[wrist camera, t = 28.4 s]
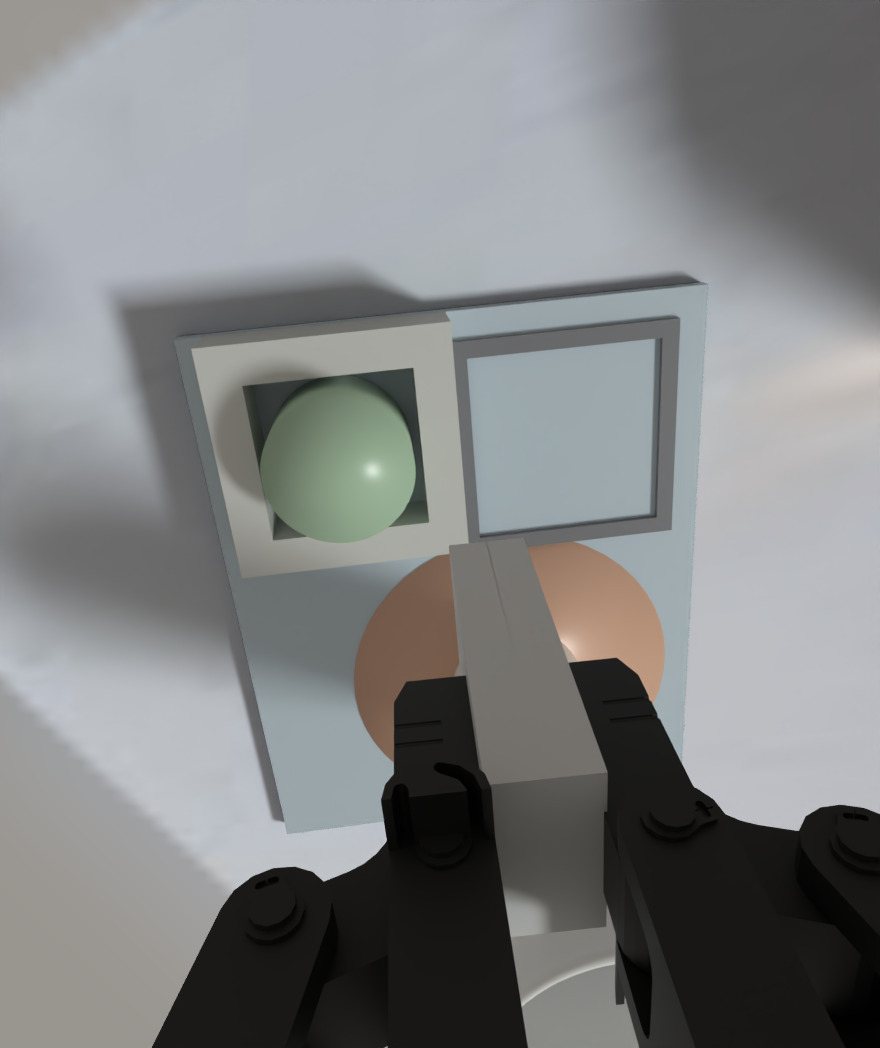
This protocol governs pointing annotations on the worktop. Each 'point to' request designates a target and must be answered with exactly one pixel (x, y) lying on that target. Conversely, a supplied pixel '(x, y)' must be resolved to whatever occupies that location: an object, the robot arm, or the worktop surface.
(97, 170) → the worktop surface
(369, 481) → the button
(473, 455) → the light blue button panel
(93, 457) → the worktop surface
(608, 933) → the drinking glass
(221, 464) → the button collar
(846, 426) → the worktop surface
